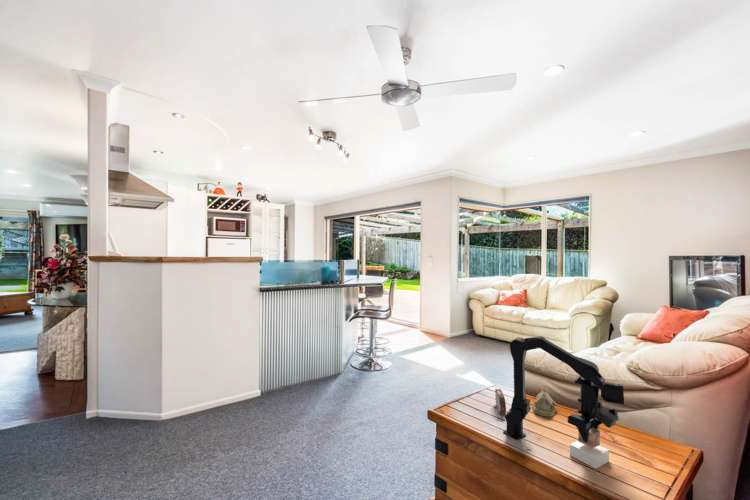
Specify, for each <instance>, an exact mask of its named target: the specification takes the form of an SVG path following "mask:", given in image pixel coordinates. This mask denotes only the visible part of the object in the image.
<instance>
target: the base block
mask: <svg viewBox="0 0 750 500" xmlns="http://www.w3.org/2000/svg"><path fill="white" fill-rule="evenodd" d="M569 456H570V457H573V458H575V459H577V460H579V461H580V462H582V463H584V464H587V465H588V466H590V467H592V468H594V469H596V470H597V469H598V468H600V467H602V466H604V465H606V463H608V462H610V449H608V448H605V447H603V446H601V445H598V446H597V447H595V448H591V447H589V446H587V445H585V444H583V443H581V442H578V440H576V441H574V442H572V443H570V444H569Z"/></svg>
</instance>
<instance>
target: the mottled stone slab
mask: <svg viewBox="0 0 750 500" xmlns="http://www.w3.org/2000/svg"><path fill="white" fill-rule="evenodd" d="M494 393H495V405H496V408H497V410H498V413H499V414H501V415H506V414H507V406H506V405H507V404H506V399H505V398H506V397H505V396H504V395H505V394H504V393H503V391H502V389H501V388H499V389H497V388H496V389H494Z"/></svg>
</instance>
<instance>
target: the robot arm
mask: <svg viewBox="0 0 750 500" xmlns="http://www.w3.org/2000/svg"><path fill="white" fill-rule="evenodd" d="M535 349H541V350H543V351H544V352H546V353H547V354H549V355H551V356H552V357H554V358H555V359H557V360H559V361H560V362H562V363H564V364H566V365H568V366H569V367H570V368H571V369H572V370H573V371H574V373H576V374H577V375H579V376H578V377H576V378H575V379H574V382H573V383H574V384H577V385H580V386H579V387H580V390H579V391H580V392H579V395H580V396H579V398H577V402H579V403H580V404H579V409H577V413H573V414H570V415H569V416H567V423H568V424H569V425H573V426H575V427H576V428H577V431H578V434H579V433H580V435H581V437H582V439H583V441H584V442H586V443H587V441H588V436H589V430H590V429H591V428H595V429H597V430H599V427H600V426H601V424H603V425H604V426H605V427H607V428H612V427H613V426H614V427H615V425H616V423H617V421H619V416H618V411H617V410H616V409H615V408H610V409H608V408H604V407H603V403H602V401H603V400H604V402H606V403H609V404H615V405H619V406H623V407H624V406H625V393H624V385H623V384H620V383H612V382H608V381H607V382H606V379H605V378H604V377H603V376H602V374H601V373H600V368H599V366H598V365H597V363H595V362H592V361H590V360H588V359H586V358H582V357H578V356H576V355H574V354H572V353H570V352H568V351H567V350H565V349H563V348H562V347H560V346H558V345H557V344H555V343H553V342H552V341H550V340H548V339H547V338H545V337H544V336H539V335H538V336H534V337H526V338H525V337H524V338H523V337H519V336H518V337H516V338H514V339H513V340H512V341H511V342H510V343H509V350H510V355H511V357H512V360H513V397H512V402H511V405H510V406H511V407H510V408H509V410H507V411H506V414H504V417H505V421H506V429H505V430H503V431H502V432H503V434H505V435H507V436H509V437H510V438H512V439H515V440H520V439H521V438H524V437H526V436H527V434H526V433H524V422H523V421H524V420H525V419H526V417H527V415H529V412H530V411H531V409H532V407H531V405H530V404H531V399H529V398H527V396H526V374H525V373H526V370H525V369H526V367H525V364H526V363H525V359H526V357H527V353H528V351H530V350H535ZM599 396H600V397H599ZM599 398H602V401H600V399H599ZM578 413H579V414H578Z"/></svg>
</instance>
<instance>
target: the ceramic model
mask: <svg viewBox="0 0 750 500" xmlns="http://www.w3.org/2000/svg"><path fill="white" fill-rule="evenodd" d="M556 406H557V403H556V402H555V400H553V398H552V397H551V396H550V395H549V392H547V390H546V389H542V390H541V391H539V393H538V394H537V395H536V397H535V401H534V402H533V403H532V404H531V409H532V411H533V413H534V414H535V415H538V416H542V417H553V416H555V414H556V413H557V412H558V411H559V410H558V409H557V408H556Z"/></svg>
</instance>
